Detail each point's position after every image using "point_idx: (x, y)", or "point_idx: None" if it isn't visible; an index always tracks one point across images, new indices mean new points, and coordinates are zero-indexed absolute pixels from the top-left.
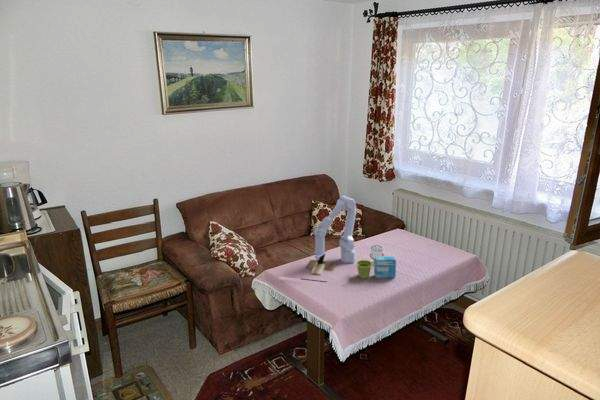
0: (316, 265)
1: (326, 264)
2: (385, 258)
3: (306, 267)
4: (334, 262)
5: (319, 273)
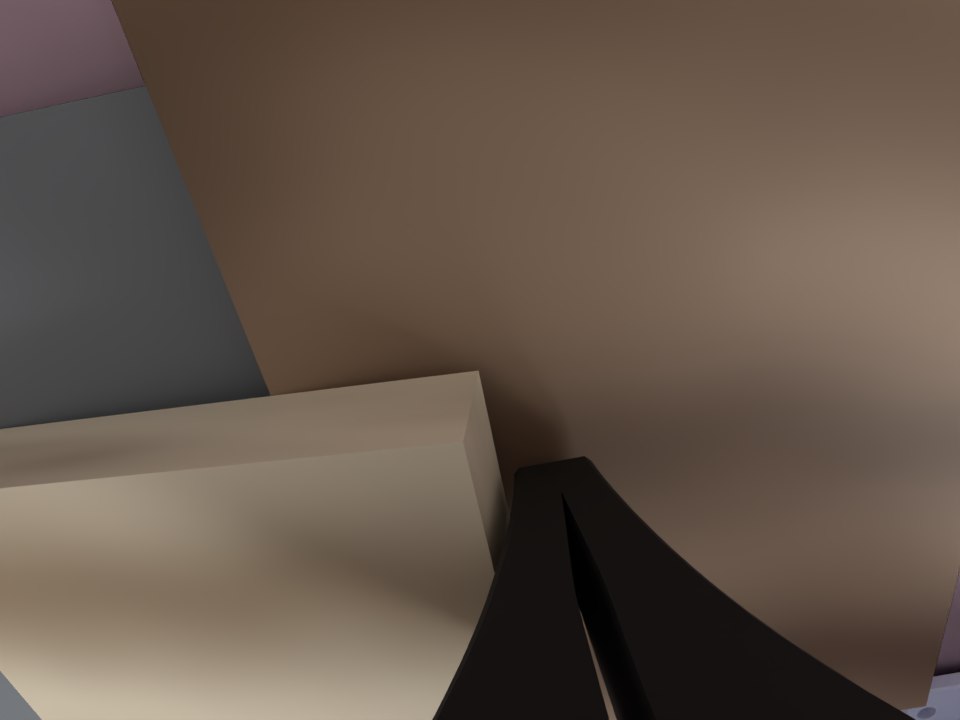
0: (327, 531)
1: (742, 565)
2: None
3: (220, 35)
4: (906, 666)
5: (36, 696)
